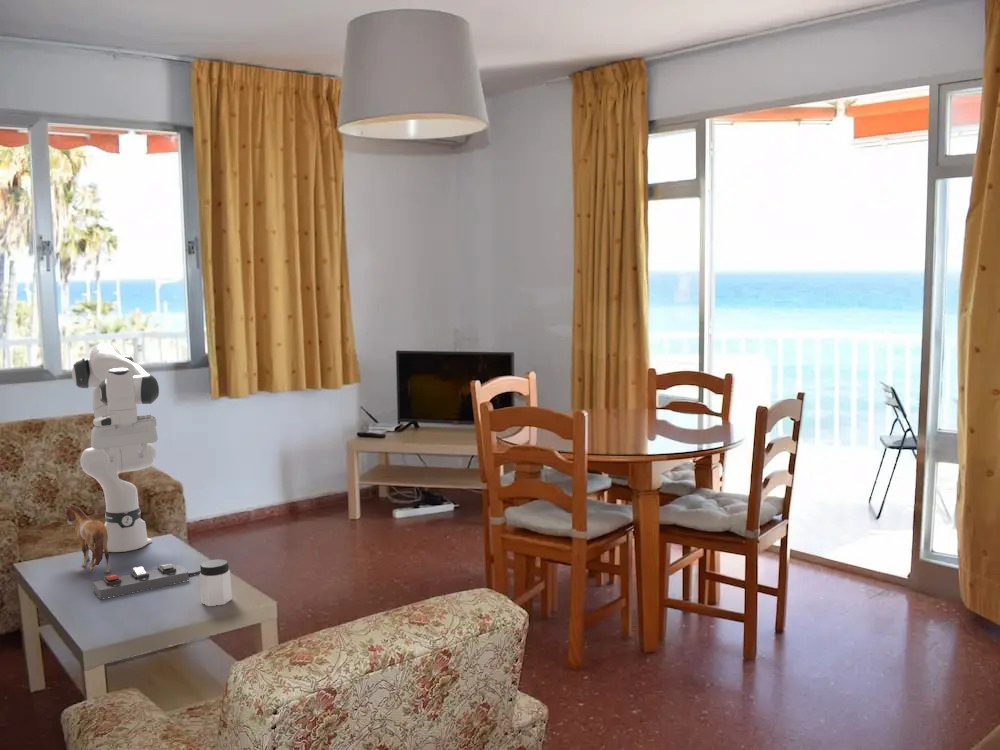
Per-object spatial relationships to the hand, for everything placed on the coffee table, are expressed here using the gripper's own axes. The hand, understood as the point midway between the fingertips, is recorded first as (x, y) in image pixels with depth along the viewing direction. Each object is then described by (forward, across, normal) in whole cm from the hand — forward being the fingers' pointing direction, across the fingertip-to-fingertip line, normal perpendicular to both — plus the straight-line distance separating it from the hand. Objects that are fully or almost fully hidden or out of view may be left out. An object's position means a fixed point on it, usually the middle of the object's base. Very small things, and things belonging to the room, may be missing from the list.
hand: (126, 459), depth 303 cm
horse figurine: (+39, +12, -20) cm, 45 cm away
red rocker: (+36, +9, +9) cm, 38 cm away
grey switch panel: (+40, -3, +10) cm, 41 cm away
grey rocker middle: (+36, +1, +9) cm, 37 cm away
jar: (+41, -14, +40) cm, 59 cm away
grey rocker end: (+36, -8, +9) cm, 38 cm away
